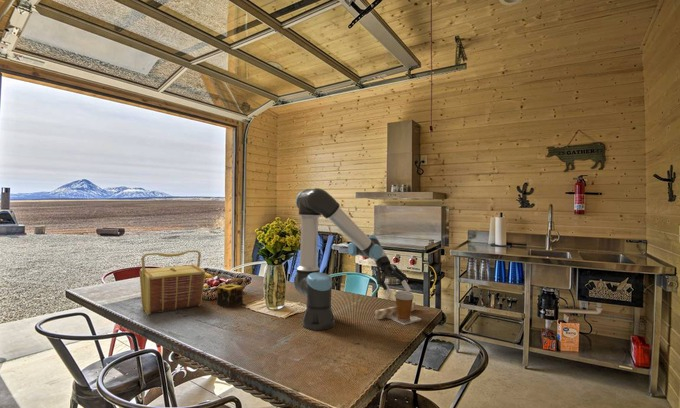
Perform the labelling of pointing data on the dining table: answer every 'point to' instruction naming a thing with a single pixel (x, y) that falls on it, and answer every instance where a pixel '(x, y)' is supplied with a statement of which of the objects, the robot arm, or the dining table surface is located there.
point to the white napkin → (404, 321)
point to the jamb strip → (389, 311)
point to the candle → (229, 295)
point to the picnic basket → (171, 285)
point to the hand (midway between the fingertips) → (399, 293)
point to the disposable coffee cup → (404, 304)
